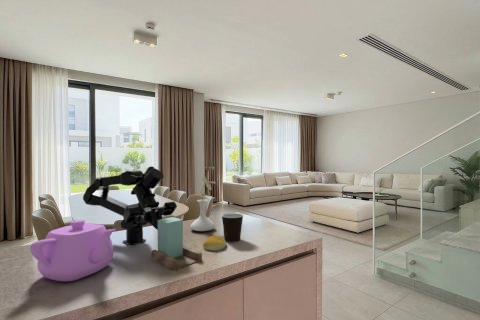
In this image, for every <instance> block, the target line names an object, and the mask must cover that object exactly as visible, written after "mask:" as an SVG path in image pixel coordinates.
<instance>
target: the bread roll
mask: <svg viewBox="0 0 480 320" xmlns="http://www.w3.org/2000/svg"><path fill="white" fill-rule="evenodd" d="M226 246H227V242H226V241H225V239H224V236H223V237H222V236H221V235H217V234H216V235H211V236H209V237H208V238H207V239H206V240H205V241H204V242H203V244H202V248H203V249H205V250H206V251H210V252H211V251H213V252H214V251H216V252H217V251H221V250H223V249H225V248H226Z"/></svg>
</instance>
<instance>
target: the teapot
mask: <svg viewBox="0 0 480 320" xmlns="http://www.w3.org/2000/svg"><path fill="white" fill-rule="evenodd" d="M69 224H70V225H67V226H62V227H59V228H56V229H53V230H50V231H49V232H48V233H47V234H46V237H45V239H40V240H36V241H34V242H32V243H31V245H30V247H29V250H30V253H31V255H32V257H33V258H34V259H35V260H37V270H38V272H39V273H40V274H41V276H43V277H44V278H46V279H49V280H52V281H56V282H57V281H58V282H75V281H78V280H80V279H82V278H85V277H88V276H91V275H92V274H95V273H97V272H99V271H101V270H102V269H105V267H107V266H109V264H110V262H112V260H113V258H114V245H113V242H112V238H111V235H112V234H113V233H114V232H115V231H116V228H112V229H107V228H106V226H105V225H104V224H99V223H92V222H86V220H84V219H75V220H72V221H70V223H69Z"/></svg>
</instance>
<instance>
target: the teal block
mask: <svg viewBox="0 0 480 320" xmlns="http://www.w3.org/2000/svg"><path fill="white" fill-rule="evenodd" d="M183 246H184V219H182V218H179V217H174V216H172V217H166V218H162V219H160V220H158V230H157V251H159V252H161V253H163V254H166V255H168V256H170V257H172V258H175V257H178V256H181V255H183Z"/></svg>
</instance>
